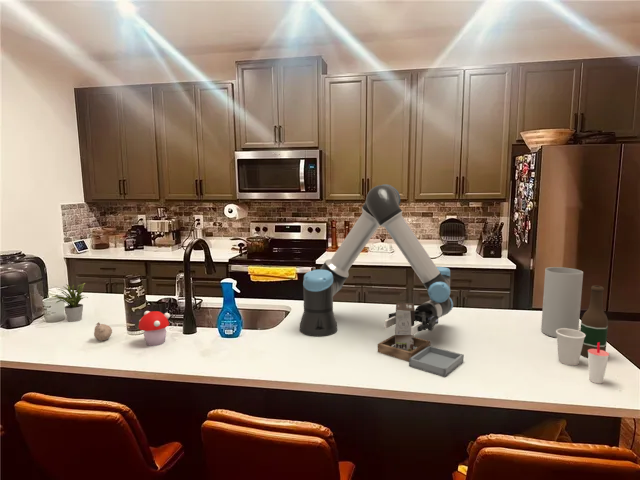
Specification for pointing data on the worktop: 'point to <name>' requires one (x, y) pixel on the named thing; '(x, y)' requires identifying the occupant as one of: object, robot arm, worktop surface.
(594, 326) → the beer bottle
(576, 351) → the dixie cup
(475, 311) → the worktop surface
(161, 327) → the mushroom
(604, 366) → the cup
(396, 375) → the worktop surface
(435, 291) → the robot arm
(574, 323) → the cylinder vase
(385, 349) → the brown square frame
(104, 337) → the garlic bulb
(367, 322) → the worktop surface
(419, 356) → the tray
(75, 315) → the house plant
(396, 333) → the coffee box
